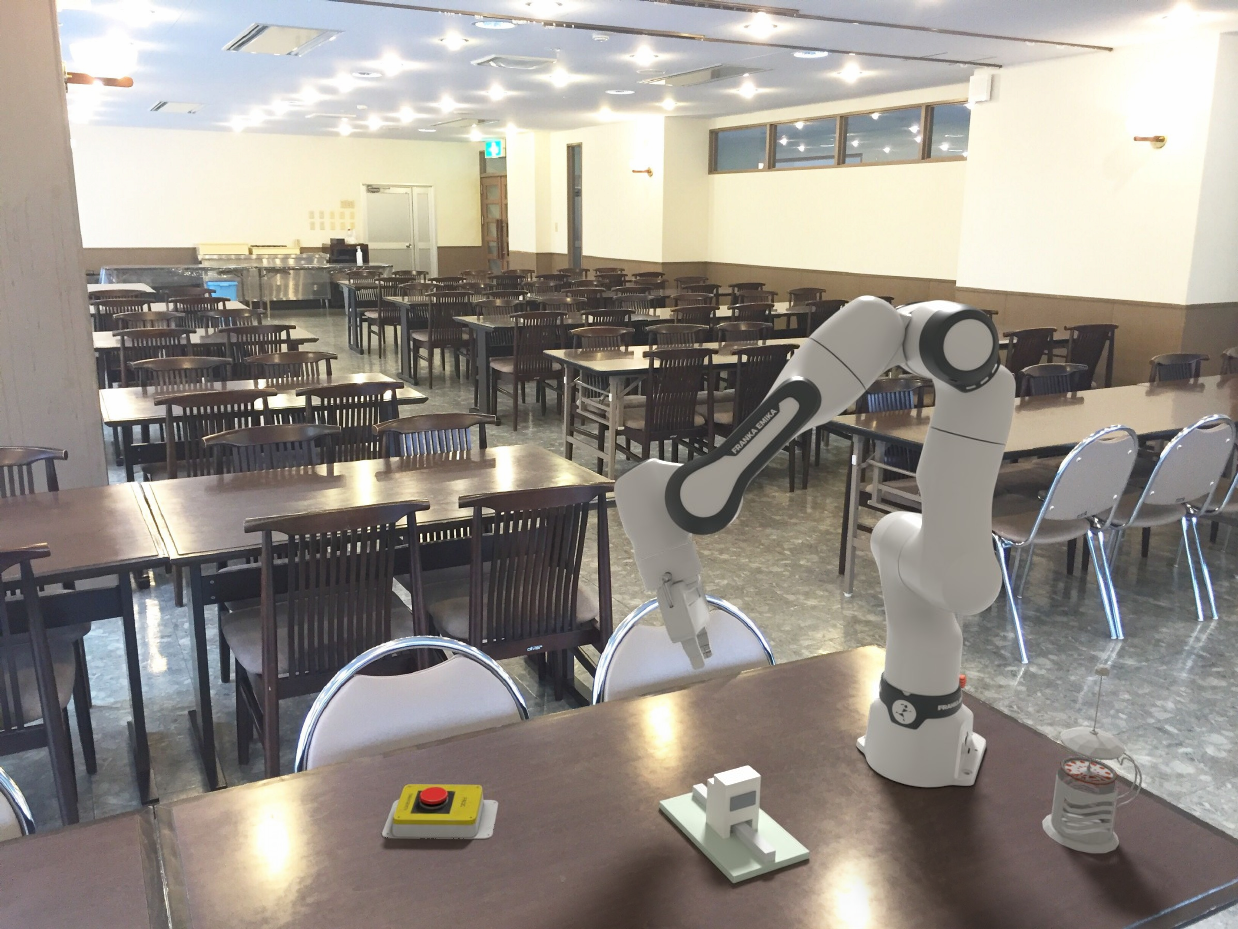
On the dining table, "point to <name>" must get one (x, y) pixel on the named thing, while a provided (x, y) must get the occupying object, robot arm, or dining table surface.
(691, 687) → the dining table surface
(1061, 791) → the french press
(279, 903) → the dining table surface
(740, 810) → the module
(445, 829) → the emergency button
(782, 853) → the rail board
